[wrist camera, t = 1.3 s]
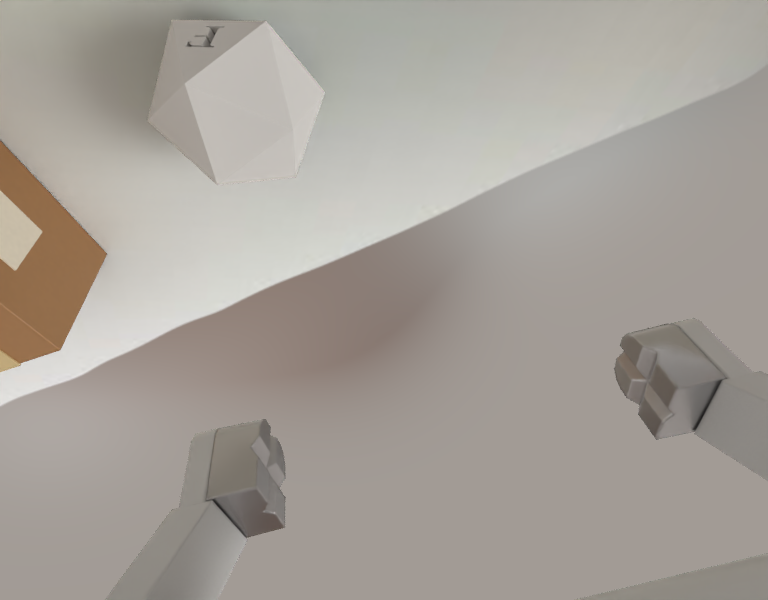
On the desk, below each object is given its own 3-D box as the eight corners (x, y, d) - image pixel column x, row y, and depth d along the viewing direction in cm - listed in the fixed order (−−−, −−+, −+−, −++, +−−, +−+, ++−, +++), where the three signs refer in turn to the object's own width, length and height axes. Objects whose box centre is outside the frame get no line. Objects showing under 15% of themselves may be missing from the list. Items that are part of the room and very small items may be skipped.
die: (342, 50, 29) (272, -27, 19) (334, 194, 31) (267, 189, 21) (220, 47, 31) (100, -25, 21) (219, 184, 33) (110, 176, 23)
